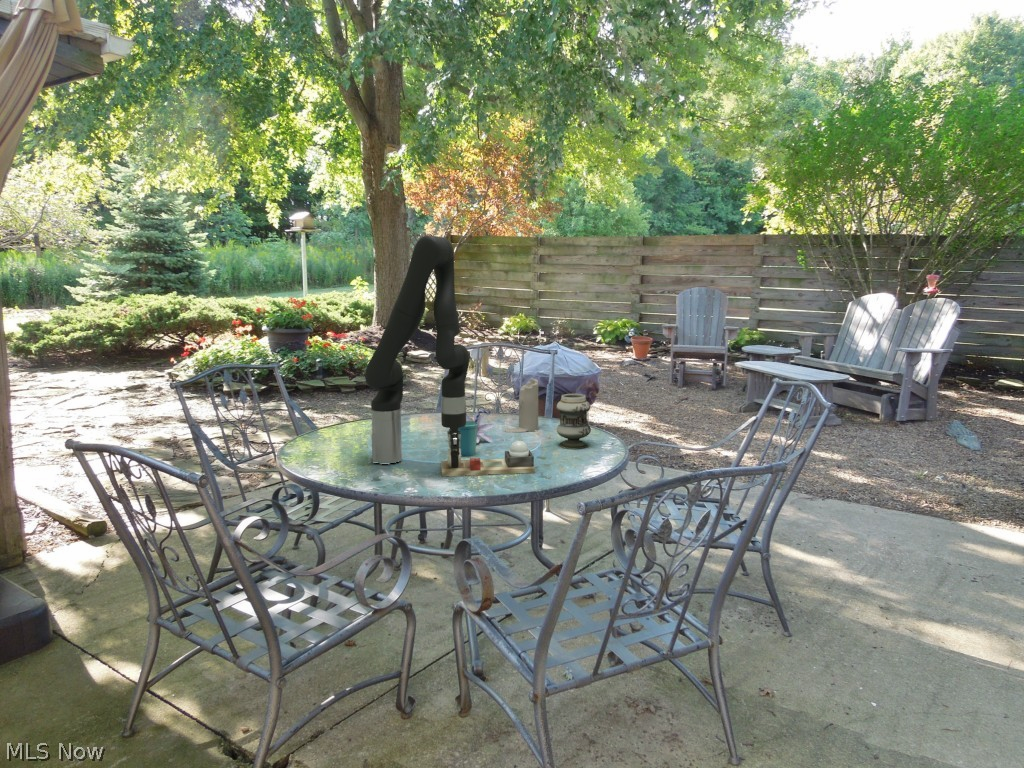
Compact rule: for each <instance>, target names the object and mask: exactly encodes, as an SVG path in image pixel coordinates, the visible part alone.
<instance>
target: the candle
mask: <svg viewBox="0 0 1024 768" xmlns="http://www.w3.org/2000/svg"><path fill="white" fill-rule="evenodd" d="M518 399H519V401H518V403H519V404H518V407H519V409H518V426H517V427H512V428H507V429H503V430H502V431H503V432H505V431H506V432H505V433H510V432H509V431H512V432H511V433H527V432H526V431H532V432H536V431H535V430H537V431H538V430H539V404H540V403H539V380H538V379H536V378H533V377H530V381H527V382H526V384H524V385H522V386H521V387H520V391H519V397H518Z"/></svg>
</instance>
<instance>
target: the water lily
mask: <svg viewBox="0 0 1024 768" xmlns="http://www.w3.org/2000/svg"><path fill="white" fill-rule="evenodd" d="M479 411H480V410H479ZM479 411H476V412H475V414H474V416H473V418H472V417H470V416H469V414H467V413H466V421H474V422H475V419H476V416H477V413H478V412H479ZM483 420H484V413H480V415H479V418H478V421H477V423H479V424H478V427H477V439H476V444H478V443H479V442H480V439H482V440H484V441H486V442H488V443H493V442H494V441H493V439H492V437H491V436H489V435H488V434H486V433H484V431H487V430H489V429H490V430H491V428H493V427H494V426H495V424H493V423H483ZM482 423H483V424H482Z"/></svg>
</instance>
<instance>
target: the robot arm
mask: <svg viewBox="0 0 1024 768" xmlns="http://www.w3.org/2000/svg"><path fill="white" fill-rule="evenodd" d="M432 272H434V276H435V293H434V299H433V317H434V325H435V329H436V337H435V359H436V363H437V364H438V366H439V367H440V368H441V369H443V370H448V373H447V375H446V376H445V377H443V378H442V380H441V401H440V411H441V414H440V415H441V417H440V418H441V419H440V420H441V426H442V427H443V428H446V429H447V428H448V429H449V430H448V431H447V433H446V434H447V439H448V440H447V441H448V443H447V444H448V449H451V453H450V455H451V467H452V468H458V467H459V459H458V456H459V454H460V452H459V448H460V438H461V433H460V431H458V428H459V427H464V426H466V414H467V401H466V383H465V382H466V380H467V379H466V378H467V376H468V371H469V365H470V354H469V351H468V349H467V348H466V346H464V345H462V344H459V343H457V344H455V339H456V337H457V336H459V334H460V333H461V327H460V321H459V316H458V309H457V304H456V303H457V302H456V291H455V290H456V289H455V254H454V247H453V244H452V242H451V241H450V239H448V238H447V237H444V236H438V235H437V236H436V235H423V236H422V237H420V238H418V240H417V241H416V244H415V245H414V247H413V251H412V254H411V257H410V262H409V265H408V268H407V272H406V275H405V277H404V280H403V281H402V282H403V283H402V285H401V288H400V291H399V293H398V296H397V299H396V300H395V303H394V305H393V307H392V309H391V312H390V315H389V318H388V322H387V324H386V326H385V328H384V331H383V333H382V335H381V337H380V340H379V343H378V344H377V347H376V348H375V351H374V352H373V354H372V356H371V357H370V359H369V362H368V363H367V366H366V368H365V373H364V378H365V379H364V380H365V382H366V384H367V385H368V387H369V388H371V389H372V390H377V394H376V395H375V396H374V398H373V399H372V400H371V403H370V408H371V409H370V411H371V456H372V457H371V459H372V460H371V461H372V463H373V462H378V463H395V462H398V461H401V460H402V461H403V450H402V449H403V445H402V442H403V441H402V440H403V439H402V416H401V415H402V413H401V412H402V410H401V409H402V408H401V406H402V405H401V403H402V402H403V397H404V372H403V368H402V366H401V363H400V362H399V361H398V360H397V357H398V355H400V353H401V350H403V348H404V347H405V346H406V345H407V343H408V342H409V341H410V340H411V339H412V337H414V335H415V334H416V332H417V331H418V328H419V326H420V325H421V322H422V320H423V317H424V314H425V311H426V304H427V303H426V302H427V301H426V300H427V299H426V288H427V285H428V281H429V279H430V277H431V275H432V274H433V273H432ZM453 449H457V451H453ZM402 461H401V462H402Z"/></svg>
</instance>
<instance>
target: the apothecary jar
mask: <svg viewBox="0 0 1024 768" xmlns="http://www.w3.org/2000/svg"><path fill="white" fill-rule="evenodd" d="M556 410H557V411H559V424H558V425H557V426H556V432H557V433H556V434H558V436H560V437H562V438H564V439H565V440H563V441H561V442H560V443H559V447H561V446H562V447H561V448H563V447H565V448H564V449H568V448H574V449H573V450H578V449H577V448H580V449H585V448H586V446H587V447H588V443H587V442H585V441H583V440H580V439H583V438H586V437H588V436H589V435H590V434H591V431H592V428H591V426H590V425H589V424H588V412H589V411H591V403H590V402H589V401H587V396H586V394H581V393H566V394H561V398H560V401H558V402H557V404H556ZM584 447H585V448H584ZM575 448H576V449H575Z"/></svg>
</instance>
